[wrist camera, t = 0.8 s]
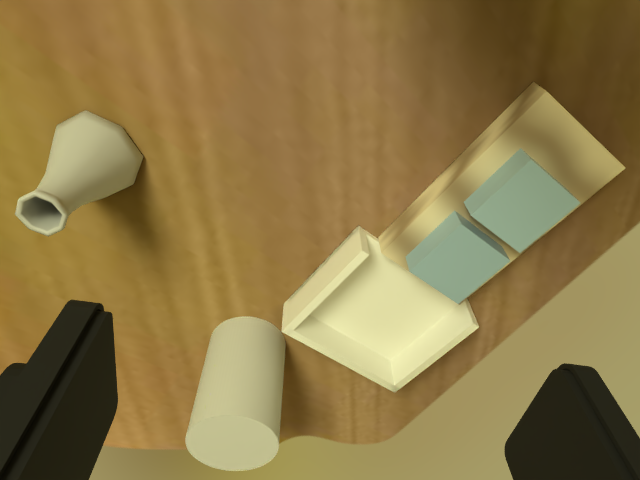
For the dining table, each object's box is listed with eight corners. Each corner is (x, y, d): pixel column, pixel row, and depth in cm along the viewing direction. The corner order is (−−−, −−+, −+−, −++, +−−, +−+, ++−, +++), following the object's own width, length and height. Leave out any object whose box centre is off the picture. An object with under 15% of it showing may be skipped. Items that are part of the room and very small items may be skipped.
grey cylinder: (198, 354, 53) (171, 454, 43) (229, 305, 49) (207, 403, 39) (265, 378, 55) (254, 479, 45) (299, 334, 51) (295, 433, 41)
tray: (358, 225, 44) (362, 250, 41) (468, 299, 49) (479, 327, 46) (283, 303, 49) (281, 331, 46) (389, 363, 54) (394, 392, 51)
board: (533, 81, 37) (546, 90, 35) (609, 155, 40) (625, 168, 38) (378, 237, 45) (381, 252, 43) (453, 288, 48) (459, 304, 46)
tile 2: (520, 148, 37) (531, 159, 35) (568, 189, 39) (580, 203, 37) (463, 202, 40) (470, 215, 38) (510, 238, 42) (519, 253, 40)
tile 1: (454, 210, 40) (461, 223, 38) (502, 246, 42) (510, 261, 40) (405, 256, 43) (409, 271, 41) (452, 288, 45) (458, 304, 43)
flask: (159, 155, 40) (119, 216, 32) (111, 208, 43) (61, 276, 34) (82, 92, 37) (15, 141, 29) (35, 153, 40) (-39, 213, 32)
